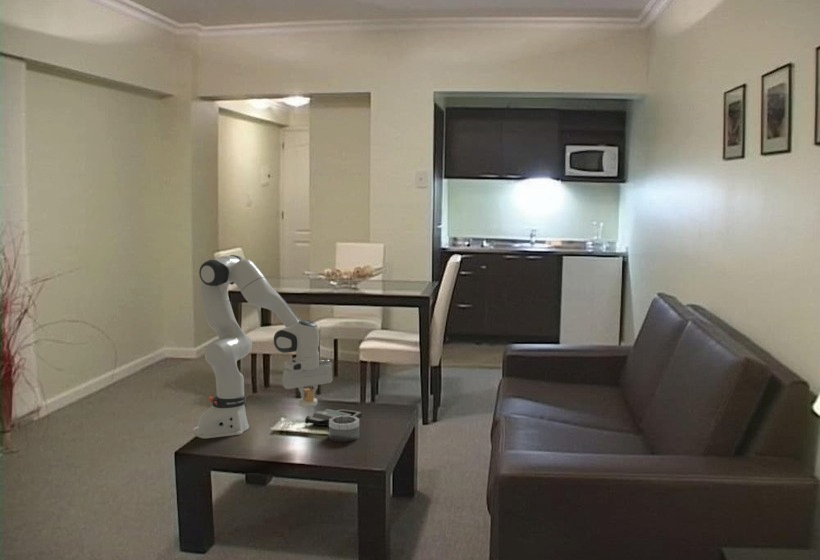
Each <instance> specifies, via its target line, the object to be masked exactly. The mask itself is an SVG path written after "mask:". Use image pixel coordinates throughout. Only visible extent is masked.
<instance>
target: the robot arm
mask: <svg viewBox="0 0 820 560" xmlns="http://www.w3.org/2000/svg"><path fill="white" fill-rule="evenodd" d="M198 273H199V278H200V280H201V282H200V284H199V295H200V302H201V306H202V309H203V314H204V316H205V320H206V324H207V326H208V327H209V328H211V329H212V330H213V331H214V332H215V334H216V335H217V337H218V338H217V339H216V340H215V339H214V340H213V341H212V342H211V343H210V344H208V345H207V346H206V347H205V350H204V359H205V361H206V363H207V364H208V365H209V366H211V368H212V370H213V372H214V376H215V377H214V378H215V384H216V386H215V389H216V396H215V397H214V396H209V398H208V401H209V402H210V403H212V405H211V406H210V407H209V408H208V409H207V410H205V411H204V412H203V413H202V414H201V415H200V417H199V419H198V425H197V426H195V427H194V428H193V429H192V433H193V435H194V436H196V437H197V438H199V439H214V438H223V437H230V436H231V437H232V436H238V435H242V434H243V432H246V431H248V430H249V428H250V425H249V422H248V419H247V413H246V407H247V406H246V404H247V398H246V394H245V377H244V375H243V374H242V372H240V370H239V368H238V363H237V362H238V361H240V360H241V359H244V358H245V357H246V356H248V354H250V352H252V349H253V341H252V339H251V337H250V336H249V335H248V334H246V333H245V332H244V331H243V329H242V328H241V326H240V325H239V323H238V322H237V319H236V317H235V314H234V311H233V307H232V304H231V303H232V302H231V301H230V298H229V294H228V287H229V285H234V284H235V285H236V287H237V288H238V289H239V291H240V293H241V295H242V296H243V298H244V299H245V300H246V302H247V303H248V304H249V305H251V306H253V307H256V308H261V309H266V310H269V311H270V312H272V313H274V314H275V315H276V316H277V318H278V319H279V320H280V322H281V323H282V324H283V325H284V328H281V329H279V330H277V331H276V332H275V333H274V335H273V344H274V347H275V349H276V350H277V351H279V352H280V353H286V354H287V353H295V354H296V355H295V356H296V357H293V358H292V359H289V360H287V361H286V362H284V368H285V369H284V370H283V373H282V381H281V382H282V387H284V389H286V390H291V389H298V391H299V393H300V397H301V398H305V397H306V393H305V392H303V389H305V388H306V387H312V389H311V390H312V391H314V397H315V396H316V392H317V390H318V388H319V387H318V386H319V385H325V384H331V383H332V382H333V381H334V380H333V377H334V376H333V370H332V368H333V363H332V361H331V360H329V359H324V360H320V351H319V346H320V333H319V332H320V331H319V327H318V324H317V323H315V322H314V321H311V320H306V319H302V320H301V319H300V317H298V315H297V314H296V313H295V312H294V311H293V309H292V307H291V306H290V305H289V304H288V302H287V301H286V300H285V299H284V298H283V297H282V295H280V293H279V292H277V291H276V290H275V289H274V288H273V287H272V285H271V284H270V282H269V281H268V280H267V278H266V277H265V275H264V274H263V273H262V271H261V270H260V269H259V268H258V266H257V265H256V264H255V263H254V262H253V261H252V260H251V259H246V258H245V259H244V258H243V257H241V255H235V254H231V255H224V256H219V257H216V258H213V259H209V260H207V261H205V262H203V263H202V264H201V265H200V267H199V270H198ZM304 387H305V388H304Z"/></svg>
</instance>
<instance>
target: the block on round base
mask: <svg viewBox="0 0 820 560" xmlns="http://www.w3.org/2000/svg"><path fill="white" fill-rule="evenodd" d="M303 392H305V393H306V397H305V398H302V397H301V398H299V399H298V406H299V407H302V408H312V407H313V408H314V407H316V406H318V399H317V398H315V396H314V391H312V389H310V388H309V387H307V388H306V387H305V388H304V389H303Z"/></svg>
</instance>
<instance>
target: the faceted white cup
mask: <svg viewBox="0 0 820 560" xmlns="http://www.w3.org/2000/svg"><path fill="white" fill-rule="evenodd" d="M328 430H329V431H328V433H329V434H328V436H329V440H331V441H333V442H336V441H337V443H338V442H339V443H348V442H353V441H354V442H355V441H356V440H358V439H359V438H360V418H357V417H355V416H349V415H341V416H336V417H332V418H330V419H329V426H328Z"/></svg>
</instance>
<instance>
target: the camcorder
mask: <svg viewBox="0 0 820 560" xmlns="http://www.w3.org/2000/svg"><path fill="white" fill-rule="evenodd" d="M341 415H349V416H355V417H357V418H359V419H361V418H362V417H363V413H362V412H361V411H358V410H357V411H356V410H349V409H337V410H334V409H329V408H326V409H324V410H317V411H316V412H314V413H313V416H312V417H311V416H310V415H306V417H305V420H304V422H305V423H306V424H313V425H319V426H325V425H327V426H326V427H329V419H330V418H332V417H336V416H341Z"/></svg>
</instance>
